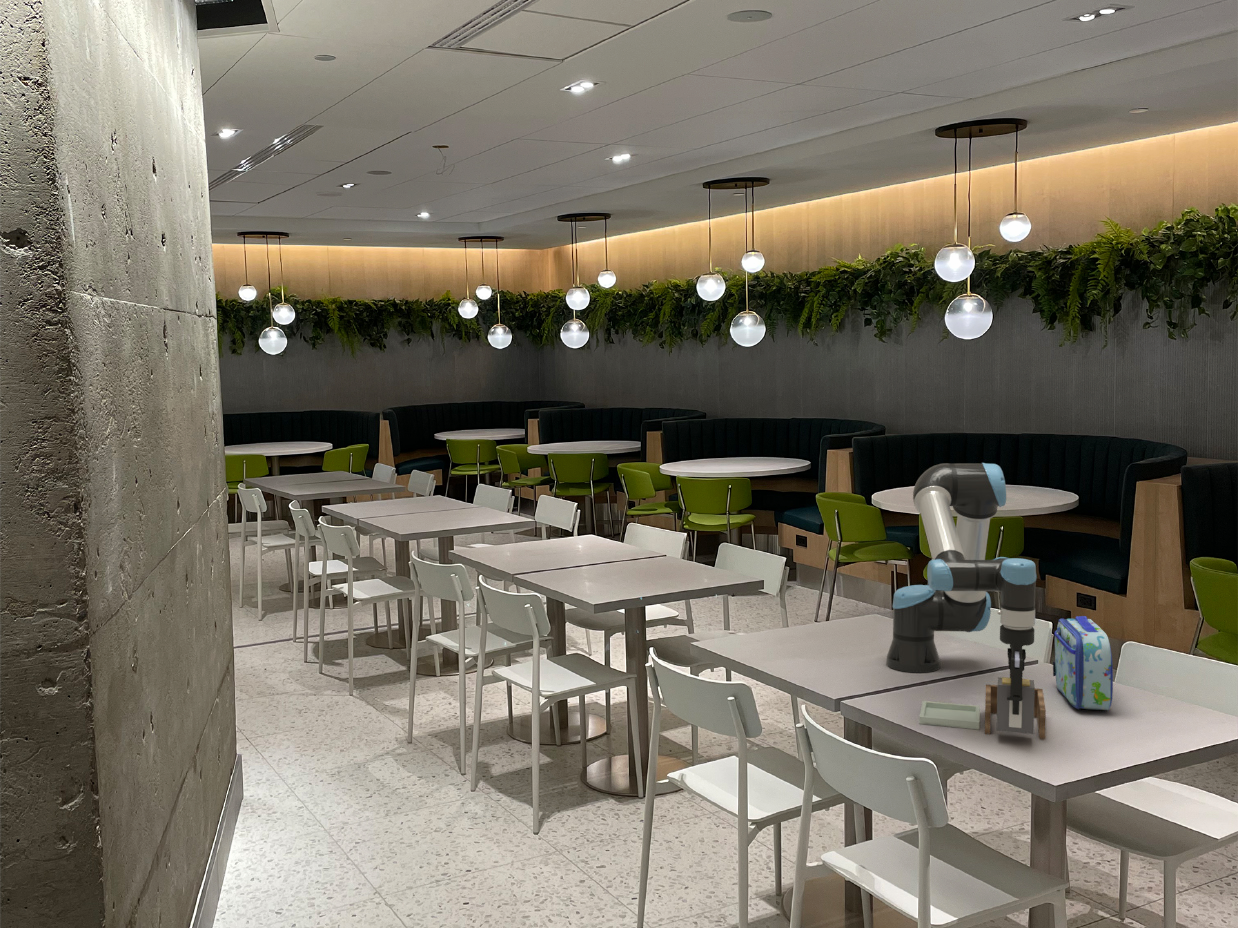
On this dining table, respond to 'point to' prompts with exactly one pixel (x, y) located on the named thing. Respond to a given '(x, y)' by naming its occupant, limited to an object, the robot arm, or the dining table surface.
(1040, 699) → the bay
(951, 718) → the tray
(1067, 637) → the lunch box
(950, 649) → the dining table surface
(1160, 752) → the dining table surface
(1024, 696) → the grey box yellow panel
